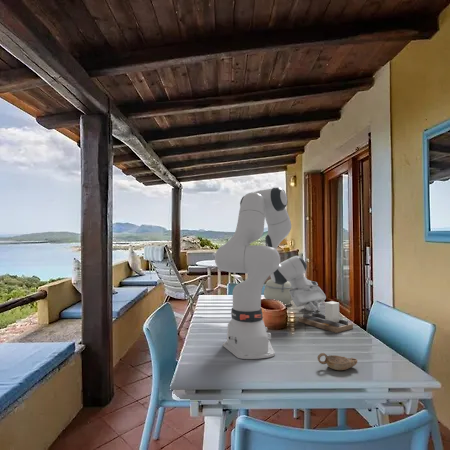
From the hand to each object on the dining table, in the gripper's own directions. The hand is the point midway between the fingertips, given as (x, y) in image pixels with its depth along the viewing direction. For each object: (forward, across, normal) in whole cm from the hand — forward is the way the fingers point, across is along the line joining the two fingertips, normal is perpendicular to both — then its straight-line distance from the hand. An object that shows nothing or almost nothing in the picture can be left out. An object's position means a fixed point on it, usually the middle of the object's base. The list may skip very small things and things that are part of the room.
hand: (317, 310), depth 168 cm
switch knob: (+9, 0, -4) cm, 9 cm away
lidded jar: (-10, +20, +19) cm, 29 cm away
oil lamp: (+32, -38, -23) cm, 55 cm away
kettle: (-26, +16, +35) cm, 47 cm away
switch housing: (+7, 0, +1) cm, 7 cm away
